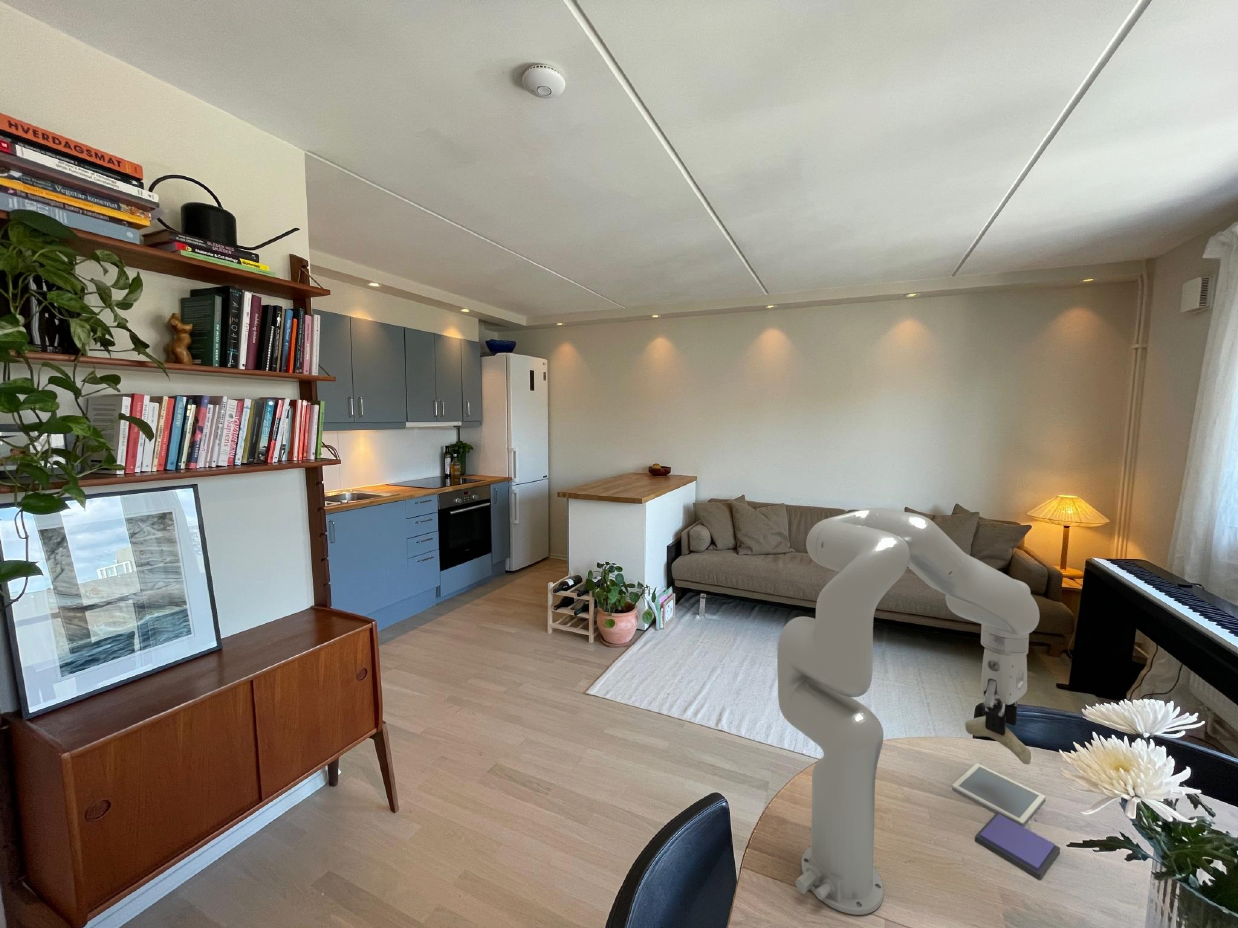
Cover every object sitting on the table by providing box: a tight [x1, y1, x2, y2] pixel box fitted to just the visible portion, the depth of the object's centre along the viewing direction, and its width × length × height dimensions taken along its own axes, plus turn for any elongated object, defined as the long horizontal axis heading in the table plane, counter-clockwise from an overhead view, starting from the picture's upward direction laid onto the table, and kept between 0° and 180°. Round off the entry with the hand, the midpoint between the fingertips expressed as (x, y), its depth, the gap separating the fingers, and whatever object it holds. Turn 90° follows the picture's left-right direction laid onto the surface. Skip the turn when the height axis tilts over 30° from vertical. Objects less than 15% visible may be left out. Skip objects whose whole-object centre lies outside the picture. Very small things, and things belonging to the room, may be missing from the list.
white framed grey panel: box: [951, 762, 1046, 828], centre depth 101 cm, size 12×12×1 cm
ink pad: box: [974, 813, 1061, 881], centre depth 89 cm, size 10×10×2 cm
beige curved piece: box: [964, 714, 1032, 765], centre depth 99 cm, size 11×6×5 cm, turn 22°
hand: (1000, 725), depth 100 cm, fingers closed on beige curved piece, 4 cm apart
